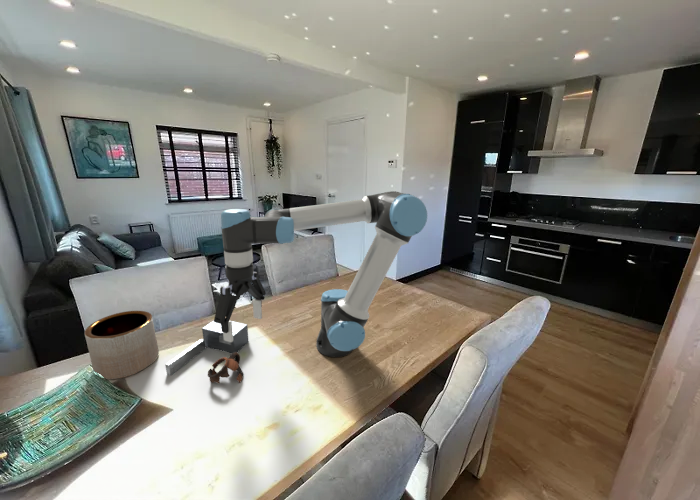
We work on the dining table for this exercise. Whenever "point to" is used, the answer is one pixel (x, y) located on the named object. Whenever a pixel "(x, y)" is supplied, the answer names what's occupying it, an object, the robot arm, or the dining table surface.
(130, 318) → the planter
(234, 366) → the brown curved piece
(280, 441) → the dining table surface
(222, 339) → the motor bracket
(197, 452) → the dining table surface
